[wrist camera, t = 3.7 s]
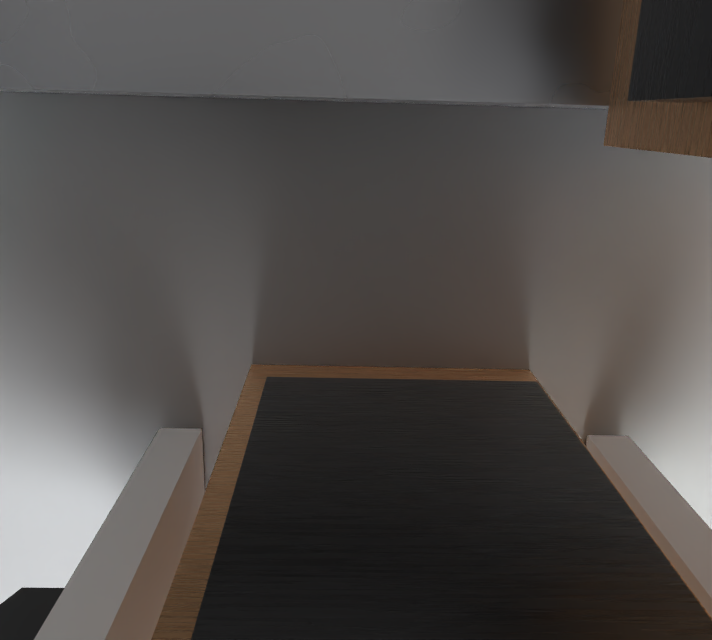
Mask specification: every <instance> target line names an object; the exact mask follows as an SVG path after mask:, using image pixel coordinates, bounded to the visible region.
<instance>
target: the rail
mask: <svg viewBox="0 0 712 640" xmlns="http://www.w3.org/2000/svg"><path fill="white" fill-rule="evenodd" d="M0 91H3V92H37V93H72V94H106V95H140V96H175V97H209V98H243V99H278V100H312V101H346V102H381V103H415V104H449V105H484V106H518V107H552V108H587V109H608V117H607V124H606V131H605V139H604V146H612V147H621V148H630V149H639V150H647V151H656V152H665V153H674V154H683V155H692V156H701V157H709V158H712V0H0Z"/></svg>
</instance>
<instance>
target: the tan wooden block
mask: <svg viewBox="0 0 712 640" xmlns="http://www.w3.org/2000/svg"><path fill="white" fill-rule="evenodd" d="M151 640H712V617H711V616H710V615H709V613H708V612H707V611H706V609H705V608H704V606H703V605H702V604H701V602H700V601H699V600H698V598H697V597H696V596H695V594H694V593H693V592H692V590H691V589H690V587H689V586H688V585H687V583H686V582H685V581H684V579H683V578H682V577H681V575H680V574H679V572H678V571H677V570H676V568H675V567H674V566H673V564H672V563H671V562H670V560H669V559H668V558H667V556H666V555H665V553H664V552H663V551H662V549H661V548H660V547H659V545H658V544H657V543H656V541H655V540H654V538H653V537H652V536H651V534H650V533H649V532H648V530H647V529H646V528H645V526H644V525H643V524H642V522H641V521H640V519H639V518H638V517H637V515H636V514H635V513H634V511H633V510H632V509H631V507H630V506H629V504H628V503H627V502H626V500H625V499H624V498H623V496H622V495H621V494H620V492H619V491H618V490H617V488H616V487H615V485H614V484H613V483H612V481H611V480H610V479H609V477H608V476H607V475H606V473H605V472H604V470H603V469H602V468H601V466H600V465H599V464H598V462H597V461H596V460H595V458H594V457H593V456H592V454H591V453H590V451H589V450H588V449H587V447H586V446H585V445H584V443H583V442H582V441H581V439H580V438H579V436H578V435H577V434H576V432H575V431H574V430H573V428H572V427H571V426H570V424H569V423H568V422H567V420H566V419H565V417H564V416H563V415H562V413H561V412H560V411H559V409H558V408H557V407H556V405H555V404H554V402H553V401H552V400H551V398H550V397H549V396H548V394H547V393H546V392H545V390H544V389H543V388H542V386H541V385H540V383H539V382H538V381H537V379H536V378H535V377H534V375H533V374H532V373H531V371H530V370H521V369H468V368H414V367H361V366H307V365H254V364H252V365H251V367H250V370H249V373H248V376H247V378H246V381H245V384H244V387H243V389H242V392H241V395H240V398H239V400H238V403H237V406H236V409H235V411H234V414H233V417H232V420H231V422H230V425H229V428H228V431H227V433H226V436H225V439H224V442H223V444H222V447H221V450H220V453H219V455H218V458H217V461H216V463H215V466H214V469H213V472H212V474H211V477H210V480H209V483H208V485H207V488H206V491H205V494H204V496H203V499H202V502H201V505H200V507H199V510H198V513H197V516H196V518H195V521H194V524H193V527H192V529H191V532H190V535H189V538H188V540H187V543H186V546H185V549H184V551H183V554H182V557H181V559H180V562H179V565H178V568H177V570H176V573H175V576H174V579H173V581H172V584H171V587H170V590H169V592H168V595H167V598H166V601H165V603H164V606H163V609H162V612H161V614H160V617H159V620H158V623H157V625H156V628H155V631H154V634H153V636H152V639H151Z"/></svg>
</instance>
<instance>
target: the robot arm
mask: <svg viewBox="0 0 712 640" xmlns="http://www.w3.org/2000/svg"><path fill="white" fill-rule="evenodd" d="M586 447H587V449H588V450H589V451H590V453H591V454H592V456H593V457H594V458H595V460H596V461H597V462H598V464H599V465H600V466H601V468H602V469H603V470H604V472H605V473H606V475H607V476H608V477H609V479H610V480H611V481H612V483H613V484H614V485H615V487H616V488H617V490H618V491H619V492H620V494H621V495H622V496H623V498H624V499H625V500H626V502H627V503H628V504H629V506H630V507H631V509H632V510H633V511H634V513H635V514H636V515H637V517H638V518H639V519H640V521H641V522H642V524H643V525H644V526H645V528H646V529H647V530H648V532H649V533H650V534H651V536H652V537H653V538H654V540H655V541H656V543H657V544H658V545H659V547H660V548H661V549H662V551H663V552H664V553H665V555H666V556H667V558H668V559H669V560H670V562H671V563H672V564H673V566H674V567H675V568H676V570H677V571H678V572H679V574H680V575H681V577H682V578H683V579H684V581H685V582H686V583H687V585H688V586H689V587H690V589H691V590H692V592H693V593H694V594H695V596H696V597H697V598H698V600H699V601H700V602H701V604H702V605H703V606H704V608H705V609H706V611H707V612H708V613H709V615H710V616H711V617H712V530H711V529H710V528H709V526H708V525H707V524H706V523H705V522H704V521H703V520H702V518H701V517H700V516H699V515H698V514H697V513H696V512H695V511H694V509H693V508H692V507H691V506H690V505H689V504H688V503H687V502H686V500H685V499H684V498H683V497H682V496H681V495H680V494H679V492H678V491H677V490H676V489H675V488H674V487H673V486H672V485H671V483H670V482H669V481H668V480H667V479H666V478H665V477H664V476H663V474H662V473H661V472H660V471H659V470H658V469H657V468H656V467H655V465H654V464H653V463H652V462H651V461H650V460H649V459H648V457H647V456H646V455H645V454H644V453H643V452H642V451H641V450H640V448H639V447H638V446H637V445H636V444H635V443H634V442H633V441H632V439H631V438H630V437H629V436H617V435H587V442H586ZM204 494H205V486H204V465H203V445H202V429H197V428H159V430H158V432H157V433H156V435H155V437H154V439H153V440H152V442H151V444H150V445H149V447H148V449H147V450H146V452H145V454H144V455H143V457H142V459H141V460H140V462H139V464H138V465H137V467H136V469H135V470H134V472H133V474H132V475H131V477H130V479H129V481H128V482H127V484H126V486H125V487H124V489H123V491H122V492H121V494H120V496H119V497H118V499H117V501H116V502H115V504H114V506H113V507H112V509H111V511H110V512H109V514H108V516H107V518H106V519H105V521H104V523H103V524H102V526H101V528H100V529H99V531H98V533H97V534H96V536H95V538H94V539H93V541H92V543H91V544H90V546H89V548H88V549H87V551H86V553H85V554H84V556H83V558H82V560H81V561H80V563H79V565H78V566H77V568H76V570H75V571H74V573H73V575H72V576H71V578H70V580H69V581H68V583H67V585H66V586H65V588H21V589H20V590H18V591H17V592H16V593H15V594H13V595H12V596H11V597H9V598H8V599H7V600H6V601H4V602H3V603H2V604H0V640H151V639H152V636H153V634H154V631H155V628H156V625H157V623H158V620H159V617H160V614H161V612H162V609H163V606H164V603H165V601H166V598H167V595H168V592H169V590H170V587H171V584H172V581H173V579H174V576H175V573H176V570H177V568H178V565H179V562H180V559H181V557H182V554H183V551H184V549H185V546H186V543H187V540H188V538H189V535H190V532H191V529H192V527H193V524H194V521H195V518H196V516H197V513H198V510H199V507H200V505H201V502H202V499H203V496H204Z"/></svg>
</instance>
